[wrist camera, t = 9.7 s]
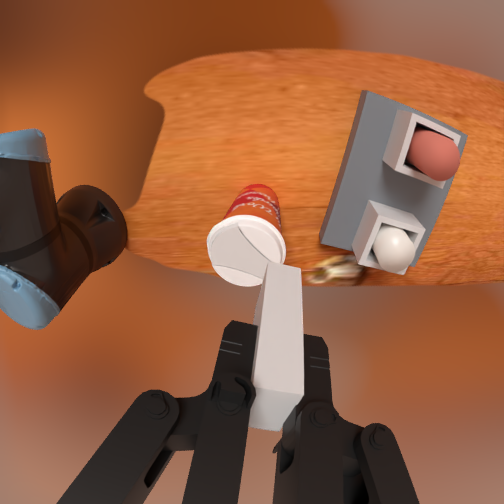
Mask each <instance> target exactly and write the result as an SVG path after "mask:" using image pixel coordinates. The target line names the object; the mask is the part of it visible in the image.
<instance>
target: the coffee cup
mask: <svg viewBox="0 0 504 504" xmlns="http://www.w3.org/2000/svg"><path fill="white" fill-rule="evenodd" d="M207 246H208V254H209V257H210V260H211V262H212V266H213V268H214V269H215V271H216V272H217V273H218V274H219V275H220V276H221V277H222V278H223V279H225V280H226V281H228V282H230V283H232V284H235V285H239V286H248V287H249V286H257V285H260V284H262V282H263V278H264V275H265V271H266V267H267V264H268V261H270V262H274V263H279V264H283V263H284V260H285V256H286V247H285V243H284V239H283V237H282V234H281V221H280V210H279V202H278V198H277V196H276V194H275V193H274V191H273V190H272V189H270V188H269V187H267V186H265V185H261V184H253V185H250V186H247V187H246V188H244V189H243V190H242V191H241V192H240V194H239V195H238V196H237V198H236V199H235V201H234V203H233V204H232V206H231V207H230V209H229V210H228V212H227V214H226V215H225V217H224V219H223V220H222V222H220V223H218V224H217V225H215V226H214V227H213V228H212V230H211V231H210V233H209V235H208V238H207Z"/></svg>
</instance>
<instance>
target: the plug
mask: <svg viewBox="0 0 504 504" xmlns="http://www.w3.org/2000/svg"><path fill="white" fill-rule="evenodd" d="M372 248H373V251H374V253H375V255H376V257H377V260H378V262H379V264H380V266H381V267H382V268H383V269H384V270H385V271H388V272H399V271H402V270H404V269H406V268H407V267H408V266H409V265H410V264H411V263H412V261H413V259H414V257H415V247H414V244H413V243H412V241H411V240H410V238H409V237H408V236H407V234H406V233H405V231H404V230H403V228H399V227H396V226H393V225H389V224H386V223H383V222H382V223H381V226H380V228H379V231H378V233H377V235H376V238H375V240H374V243H373V245H372Z"/></svg>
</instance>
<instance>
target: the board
mask: <svg viewBox="0 0 504 504" xmlns="http://www.w3.org/2000/svg"><path fill="white" fill-rule="evenodd" d="M415 127H421V128H424V129H427V130H429V131H432V132H435V133H437V134H440V135H442V136H445V137H447V138H449V139H451V140H452V141H453V142H454V143H455V144H456V146H457V147H458V150H459V153H460V158H461V155H462V152H463V149H464V146H465V143H466V140H467V136H468V135H466V134H464V133H462V132H460V131H459V130H457V129H455V128H453V127H451V126H449V125H447V124H445V123H443V122H441V121H439V120H437V119H435V118H433V117H431V116H429V115H426V114H424V113H422V112H420V111H418V110H415V109H413V108H411V107H408V106H406V105H404V104H401V103H399V102H396V101H394V100H391V99H389V98H386V97H384V96H381V95H378V94H376V93H373V92H370V91H364V90H362V92H361V96H360V100H359V104H358V107H357V111H356V115H355V119H354V122H353V126H352V129H351V133H350V136H349V140H348V143H347V147H346V150H345V154H344V157H343V161H342V164H341V167H340V170H339V174H338V177H337V180H336V183H335V187H334V190H333V193H332V196H331V199H330V202H329V206H328V209H327V212H326V215H325V218H324V221H323V224H322V227H321V230H320V233H319V236H320V241H321V244H325V245H329V246H333V247H337V248H342V249H346V250H350V251H354V254H355V257H356V260H357V262H358V264H360V265H364V266H368V267H372V268H376V269H380V270H384V269H383V268H382V267H381V266H380V264H379V262H378V260H377V257H376V255H375V253H374V251H373V248H372V245H373V243H374V240H375V238H376V235H377V233H378V231H379V228H380V226H381V223H382V222H383V223H386V224H389V225H393V226H396V227H399V228H403V230H404V231H405V233H406V234H407V236H408V237H409V238H410V240H411V241H412V243H413V244H414V247H415V257H414V259H413V261H412V263H411V264H410V265H409V266H412V267H415V265H416V263H417V261H418V259H419V257H420V255H421V253H422V251H423V249H424V246H425V244H426V242H427V240H428V238H429V236H430V234H431V232H432V229H433V227H434V225H435V223H436V220H437V218H438V216H439V213H440V211H441V209H442V206H443V204H444V201H445V199H446V196H447V194H448V191H449V189H450V186H451V184H452V181H453V178H454V175H455V174H454V175H453V176H452V177H451V178H450V179H448V180H446V181H436V180H434V179H432V178H430V177H429V176H428V175H426V174H425V173H424V172H422V171H421V170H419V169H418V168H417V167H415V166H414V165H412V164H411V163H410V162H408V161H407V160H406V159H405V158H406V155H407V152H408V149H409V145H410V142H411V139H412V136H413V132H414V129H415ZM407 268H408V267H407ZM407 268H406V269H404V270H402V271H399V272H393V273H397V274H401V275H404V274H405V272H406V270H407Z"/></svg>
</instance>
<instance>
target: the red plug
mask: <svg viewBox="0 0 504 504" xmlns="http://www.w3.org/2000/svg"><path fill="white" fill-rule="evenodd" d="M405 159H406V160H407V161H408V162H410V163H411V164H412V165H414V166H415V167H417V168H418V169H419V170H421V171H422V172H424V173H425V174H426V175H428V176H429V177H430V178H432V179H434V180H436V181H446V180H448V179H450V178H451V177H452V176H453V175H454V174H455V173H456V172H457V170H458V167H459V164H460V153H459V150H458V147H457V146H456V144H455V143H454V142H453V141H452V140H451V139H449V138H447V137H445V136H442V135H440V134H437V133H435V132H432V131H429V130H427V129H424V128H421V127H415V129H414V132H413V136H412V139H411V142H410V145H409V149H408V152H407V155H406V158H405Z"/></svg>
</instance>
